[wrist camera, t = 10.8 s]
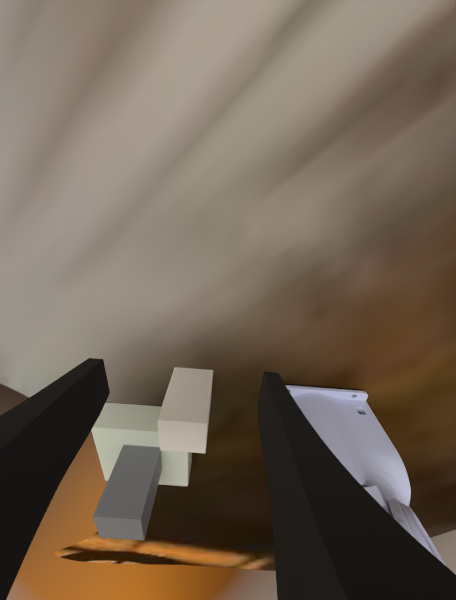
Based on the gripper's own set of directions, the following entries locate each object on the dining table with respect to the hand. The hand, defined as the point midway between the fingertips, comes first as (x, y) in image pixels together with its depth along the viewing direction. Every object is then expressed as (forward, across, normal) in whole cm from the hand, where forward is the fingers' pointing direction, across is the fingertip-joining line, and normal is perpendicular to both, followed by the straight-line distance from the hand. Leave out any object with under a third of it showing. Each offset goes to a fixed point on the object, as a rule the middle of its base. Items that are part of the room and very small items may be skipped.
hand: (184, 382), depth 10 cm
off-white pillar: (+10, +1, +11) cm, 15 cm away
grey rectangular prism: (+7, +6, +20) cm, 22 cm away
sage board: (+10, +6, +20) cm, 23 cm away
